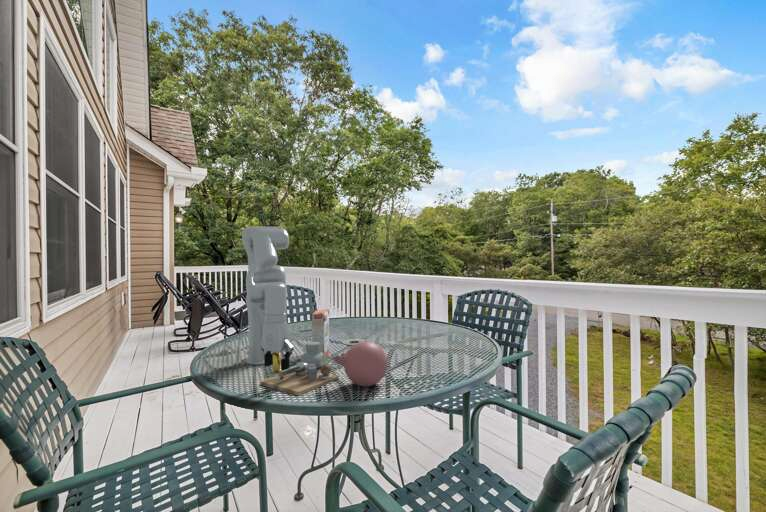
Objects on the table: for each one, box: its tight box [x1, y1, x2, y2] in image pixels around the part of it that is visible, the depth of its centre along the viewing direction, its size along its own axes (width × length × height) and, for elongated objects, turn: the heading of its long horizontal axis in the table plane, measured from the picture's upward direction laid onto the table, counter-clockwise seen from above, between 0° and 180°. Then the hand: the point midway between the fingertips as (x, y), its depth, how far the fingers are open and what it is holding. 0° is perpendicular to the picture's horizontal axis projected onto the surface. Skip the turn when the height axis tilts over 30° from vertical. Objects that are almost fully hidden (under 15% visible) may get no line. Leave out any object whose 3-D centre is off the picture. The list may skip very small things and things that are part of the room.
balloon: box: [331, 340, 388, 387], centre depth 133 cm, size 15×20×15 cm
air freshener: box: [300, 341, 327, 369], centre depth 156 cm, size 11×8×10 cm
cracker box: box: [311, 308, 330, 357], centre depth 172 cm, size 14×6×21 cm, turn 179°
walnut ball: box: [319, 363, 332, 375], centre depth 139 cm, size 4×4×4 cm
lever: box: [272, 352, 308, 377], centre depth 138 cm, size 16×4×9 cm, turn 145°
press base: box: [259, 364, 339, 397], centre depth 137 cm, size 20×20×6 cm
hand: (276, 367), depth 133 cm, fingers open, 8 cm apart
